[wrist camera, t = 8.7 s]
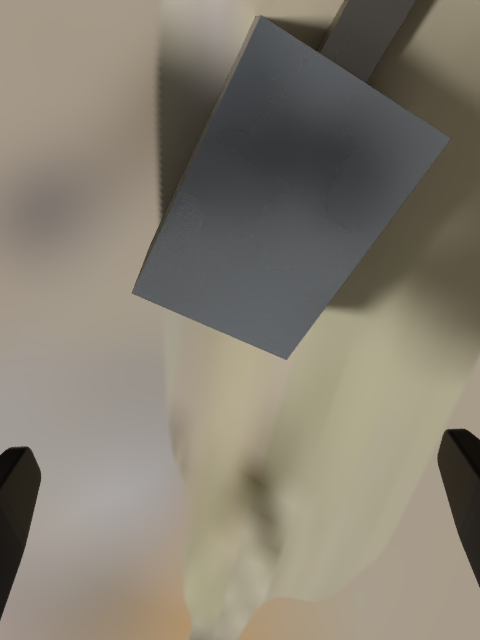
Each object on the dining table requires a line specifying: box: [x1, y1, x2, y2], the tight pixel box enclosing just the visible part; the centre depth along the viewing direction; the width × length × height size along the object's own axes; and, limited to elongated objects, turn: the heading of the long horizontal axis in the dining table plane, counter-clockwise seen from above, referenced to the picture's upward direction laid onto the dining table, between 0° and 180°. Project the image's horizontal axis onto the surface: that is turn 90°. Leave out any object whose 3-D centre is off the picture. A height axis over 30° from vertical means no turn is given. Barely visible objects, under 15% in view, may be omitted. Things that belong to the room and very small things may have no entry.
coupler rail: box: [317, 0, 416, 83], centre depth 13 cm, size 5×14×5 cm, turn 152°
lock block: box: [132, 15, 451, 360], centre depth 16 cm, size 6×9×4 cm
